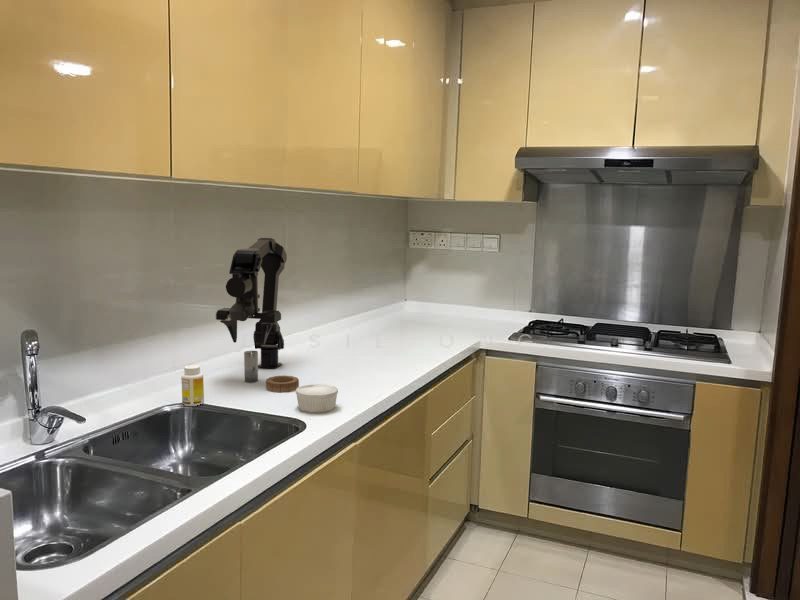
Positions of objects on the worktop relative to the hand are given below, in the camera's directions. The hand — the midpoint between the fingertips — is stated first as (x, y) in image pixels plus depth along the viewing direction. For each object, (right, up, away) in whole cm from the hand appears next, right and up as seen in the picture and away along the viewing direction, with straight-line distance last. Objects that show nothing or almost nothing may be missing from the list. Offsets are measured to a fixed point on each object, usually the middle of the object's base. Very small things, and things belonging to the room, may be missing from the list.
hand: (249, 343), depth 199 cm
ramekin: (+23, -16, -24) cm, 37 cm away
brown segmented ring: (+11, -13, -5) cm, 18 cm away
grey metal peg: (0, -12, +2) cm, 12 cm away
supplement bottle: (-10, -15, -22) cm, 28 cm away
